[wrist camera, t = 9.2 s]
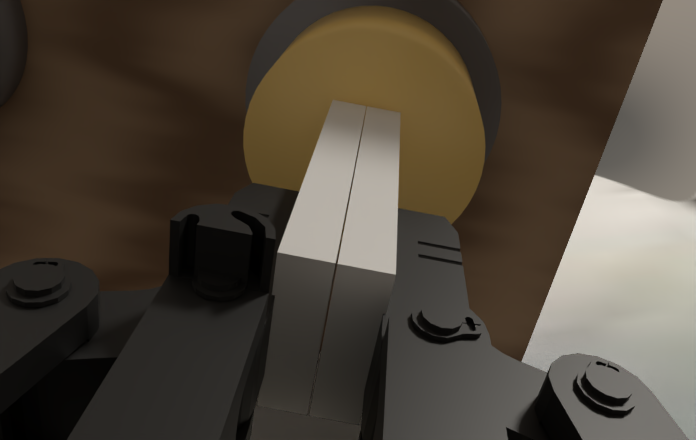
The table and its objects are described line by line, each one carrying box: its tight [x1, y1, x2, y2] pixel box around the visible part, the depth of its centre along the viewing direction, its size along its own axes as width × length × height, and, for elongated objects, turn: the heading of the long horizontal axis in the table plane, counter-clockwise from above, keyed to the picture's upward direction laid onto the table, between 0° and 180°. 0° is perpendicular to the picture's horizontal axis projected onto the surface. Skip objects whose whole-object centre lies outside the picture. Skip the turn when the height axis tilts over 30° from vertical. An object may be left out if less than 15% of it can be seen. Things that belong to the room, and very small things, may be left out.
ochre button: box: [243, 6, 485, 253], centre depth 15 cm, size 6×3×6 cm, turn 84°
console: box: [0, 0, 663, 362], centre depth 21 cm, size 28×10×20 cm, turn 84°
